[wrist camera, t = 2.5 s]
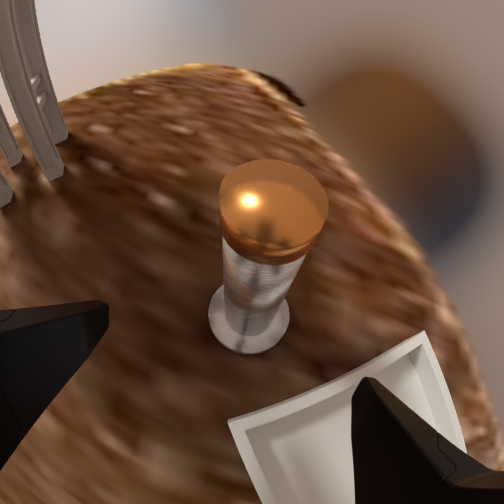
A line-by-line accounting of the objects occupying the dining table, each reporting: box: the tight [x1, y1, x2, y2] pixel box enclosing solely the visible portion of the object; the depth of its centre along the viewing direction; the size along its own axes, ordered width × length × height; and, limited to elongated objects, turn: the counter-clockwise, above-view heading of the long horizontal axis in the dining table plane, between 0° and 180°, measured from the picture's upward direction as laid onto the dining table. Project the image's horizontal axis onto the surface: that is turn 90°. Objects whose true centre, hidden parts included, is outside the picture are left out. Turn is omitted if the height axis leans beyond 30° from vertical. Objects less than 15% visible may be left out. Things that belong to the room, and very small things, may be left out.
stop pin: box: [208, 159, 329, 355], centre depth 15 cm, size 6×6×14 cm
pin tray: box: [228, 331, 467, 504], centre depth 14 cm, size 16×16×3 cm
